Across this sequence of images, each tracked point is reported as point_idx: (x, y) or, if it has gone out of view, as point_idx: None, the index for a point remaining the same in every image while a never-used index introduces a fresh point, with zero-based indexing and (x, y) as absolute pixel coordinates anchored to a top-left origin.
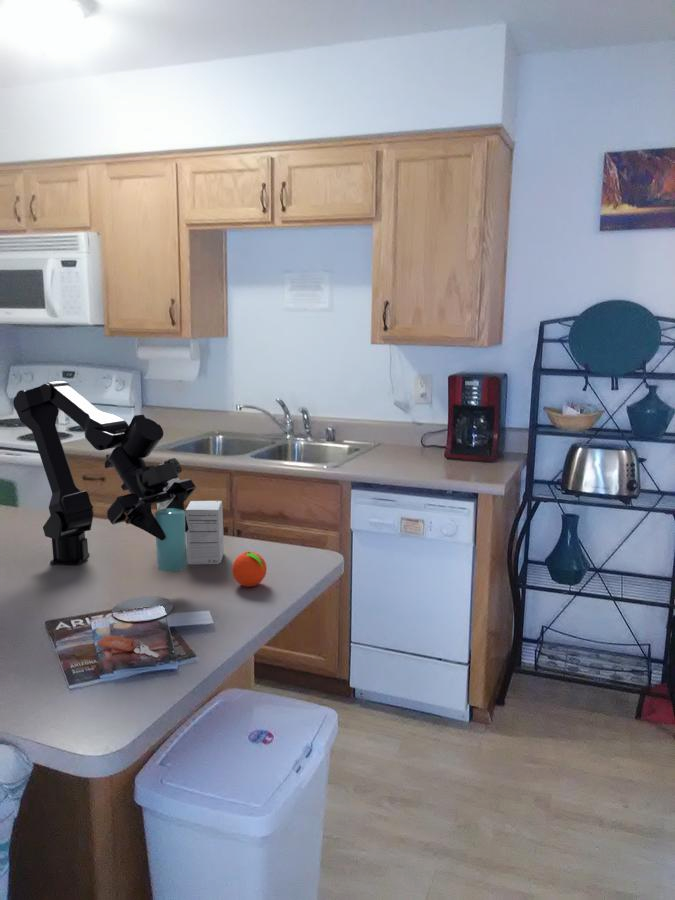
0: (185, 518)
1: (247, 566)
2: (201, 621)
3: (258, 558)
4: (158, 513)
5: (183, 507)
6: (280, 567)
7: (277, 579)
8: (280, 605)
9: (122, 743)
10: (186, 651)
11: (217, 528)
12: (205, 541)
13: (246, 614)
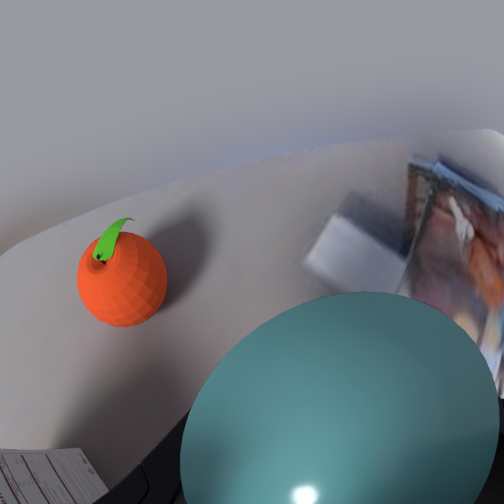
0: (172, 436)
1: (145, 244)
2: (348, 234)
3: (114, 224)
4: (464, 480)
5: (104, 499)
6: (41, 311)
7: None
8: (194, 185)
9: (491, 130)
10: (415, 179)
11: (13, 453)
12: (62, 486)
13: (264, 198)
